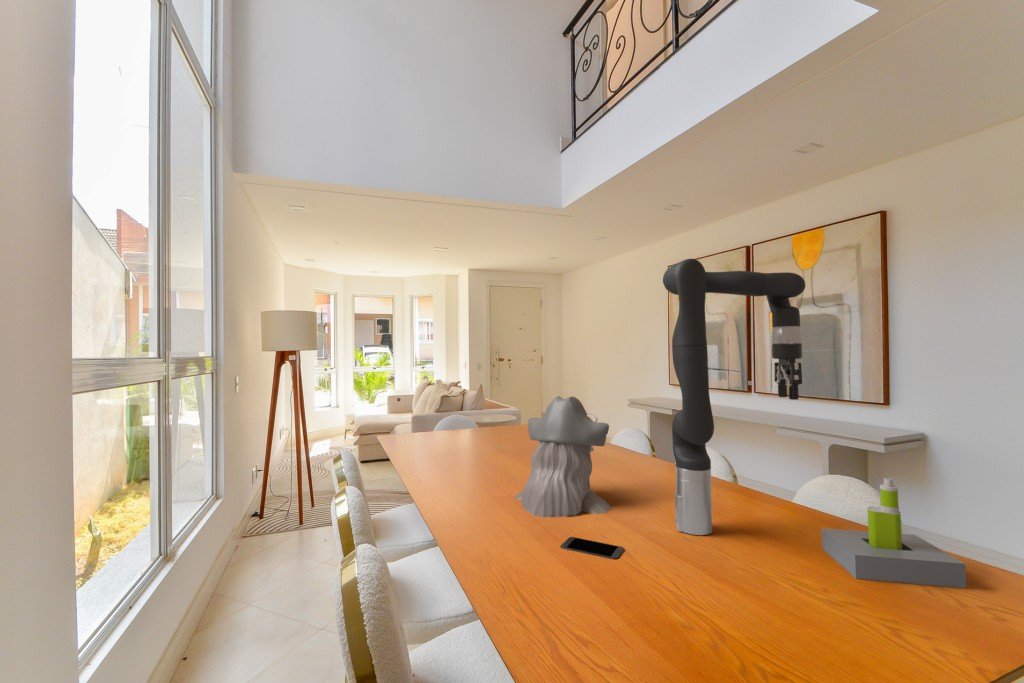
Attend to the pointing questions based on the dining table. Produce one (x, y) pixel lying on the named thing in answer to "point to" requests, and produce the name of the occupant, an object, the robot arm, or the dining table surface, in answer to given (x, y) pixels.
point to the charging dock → (894, 559)
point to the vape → (885, 519)
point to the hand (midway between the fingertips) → (788, 398)
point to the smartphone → (593, 548)
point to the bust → (563, 461)
